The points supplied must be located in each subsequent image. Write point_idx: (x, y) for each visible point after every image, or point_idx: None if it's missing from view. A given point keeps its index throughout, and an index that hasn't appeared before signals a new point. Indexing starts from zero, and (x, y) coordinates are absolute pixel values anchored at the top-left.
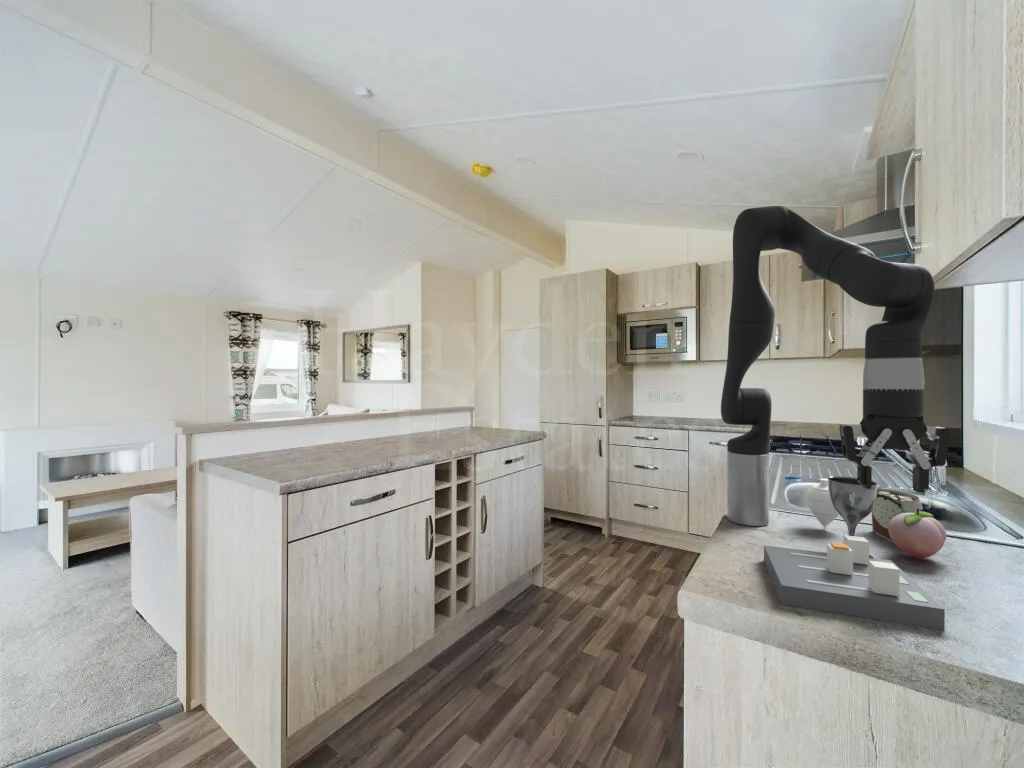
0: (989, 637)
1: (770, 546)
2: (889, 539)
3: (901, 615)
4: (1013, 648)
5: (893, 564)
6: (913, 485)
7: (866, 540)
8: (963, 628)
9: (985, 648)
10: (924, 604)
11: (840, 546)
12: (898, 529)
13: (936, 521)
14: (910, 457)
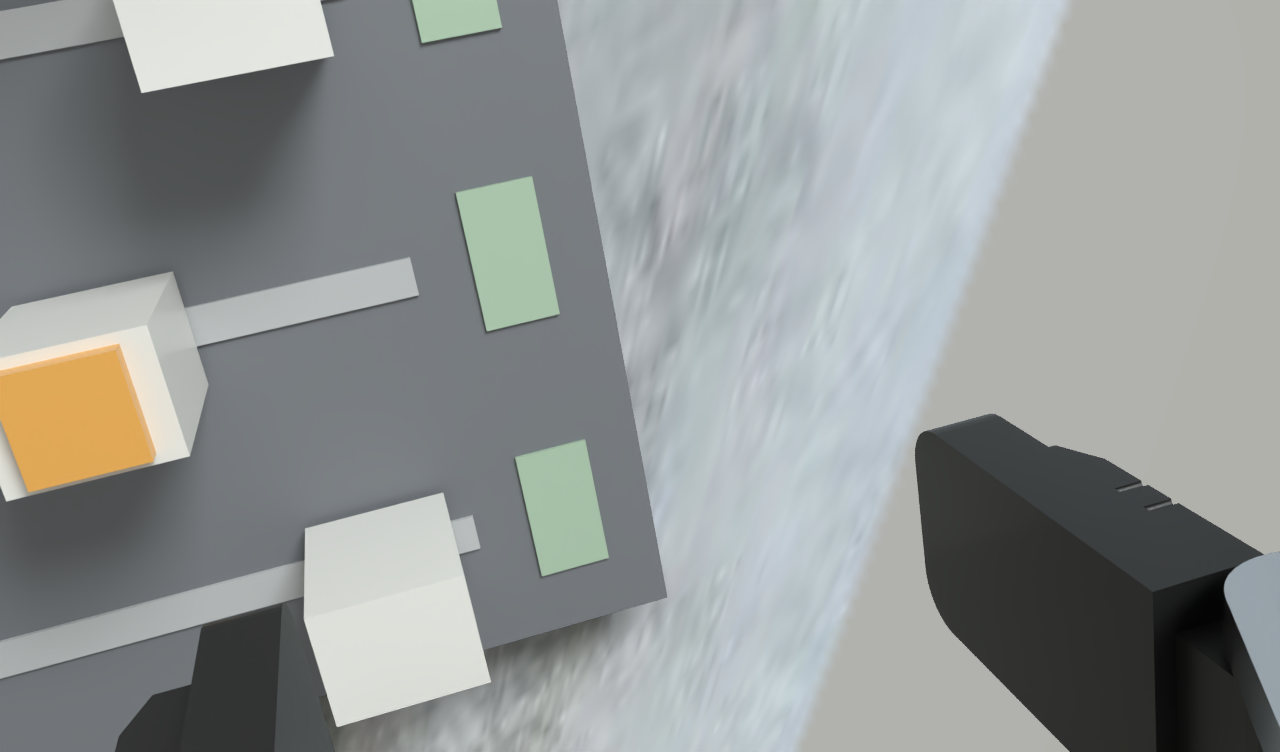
0: (808, 490)
1: None
2: None
3: None
4: (863, 546)
5: (467, 592)
6: (950, 480)
7: (313, 9)
8: (727, 457)
9: (753, 621)
10: (582, 594)
11: (79, 463)
12: None
13: None
14: (1272, 748)
